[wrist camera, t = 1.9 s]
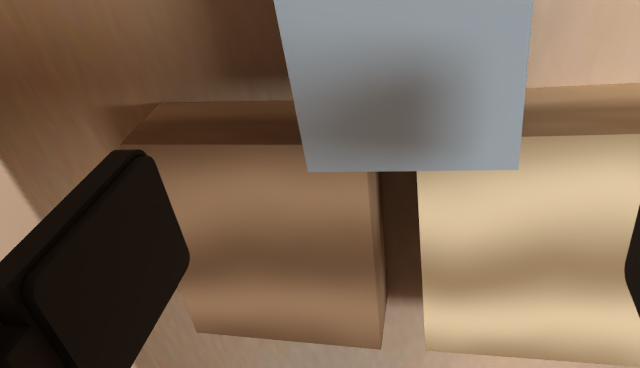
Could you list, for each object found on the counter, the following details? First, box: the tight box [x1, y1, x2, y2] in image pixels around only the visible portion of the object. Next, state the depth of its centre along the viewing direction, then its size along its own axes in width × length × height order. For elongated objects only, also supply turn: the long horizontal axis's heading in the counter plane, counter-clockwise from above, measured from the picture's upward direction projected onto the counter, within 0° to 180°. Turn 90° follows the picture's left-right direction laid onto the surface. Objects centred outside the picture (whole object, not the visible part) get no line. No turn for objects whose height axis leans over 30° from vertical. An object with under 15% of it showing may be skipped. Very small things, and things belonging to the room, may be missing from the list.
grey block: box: [274, 0, 534, 172], centre depth 16 cm, size 6×6×7 cm
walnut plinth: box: [120, 100, 388, 349], centre depth 25 cm, size 12×10×4 cm
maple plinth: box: [417, 83, 640, 367], centre depth 21 cm, size 12×12×4 cm
